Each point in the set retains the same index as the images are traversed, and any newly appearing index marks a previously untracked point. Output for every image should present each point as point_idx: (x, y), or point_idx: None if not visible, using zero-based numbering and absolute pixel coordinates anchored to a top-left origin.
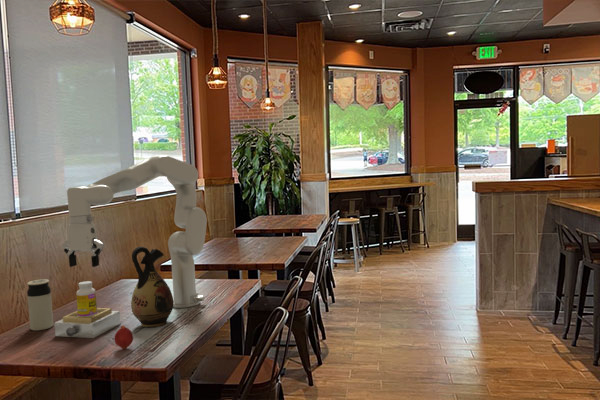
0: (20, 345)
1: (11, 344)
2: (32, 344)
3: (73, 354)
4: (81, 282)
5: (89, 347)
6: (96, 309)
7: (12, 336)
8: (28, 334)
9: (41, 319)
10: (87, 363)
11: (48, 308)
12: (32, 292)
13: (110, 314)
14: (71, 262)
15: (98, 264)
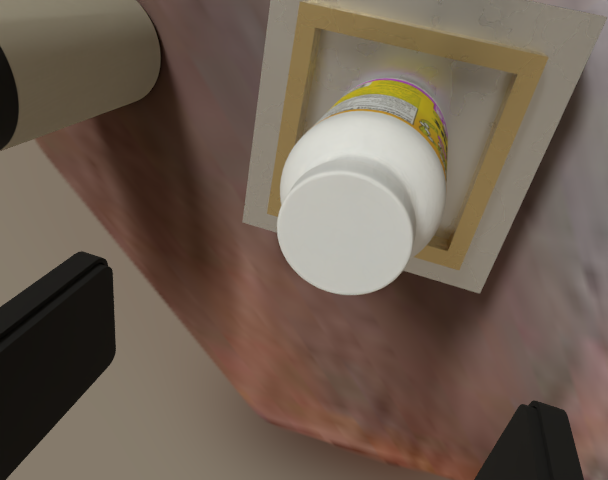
0: (191, 277)
1: (149, 260)
2: (231, 276)
3: (457, 408)
4: (293, 221)
5: (499, 360)
6: (447, 142)
7: (78, 165)
8: (125, 148)
9: (112, 107)
10: None
11: (92, 81)
12: None
13: (546, 111)
14: (74, 395)
15: (558, 426)
